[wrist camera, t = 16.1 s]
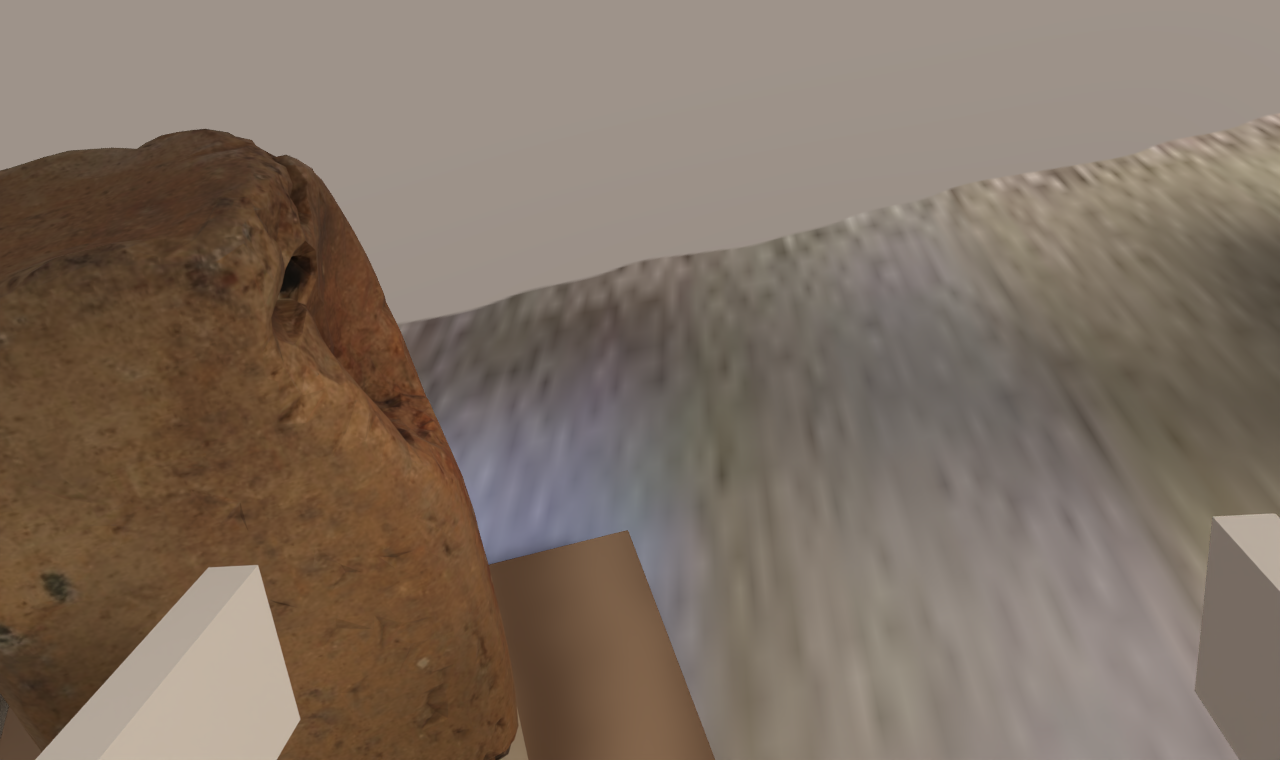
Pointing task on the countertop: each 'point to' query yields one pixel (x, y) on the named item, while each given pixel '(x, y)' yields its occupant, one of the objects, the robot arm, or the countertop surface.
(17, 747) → the plinth
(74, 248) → the catalogued terracotta fragment
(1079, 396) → the countertop surface
